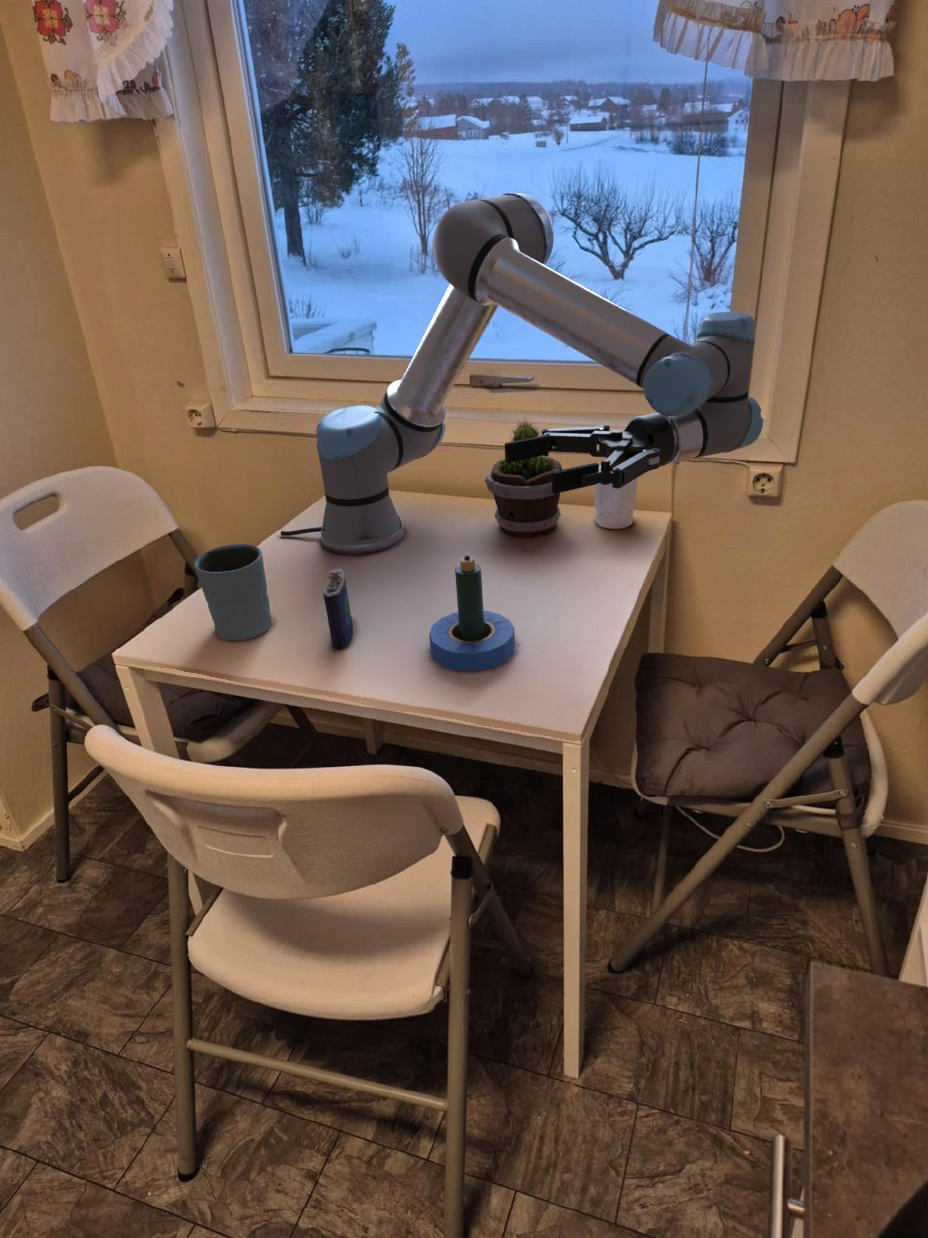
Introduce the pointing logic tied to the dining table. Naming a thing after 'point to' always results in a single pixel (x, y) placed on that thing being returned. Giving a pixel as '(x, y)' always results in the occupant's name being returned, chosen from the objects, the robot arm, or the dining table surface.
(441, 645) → the tape roll
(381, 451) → the robot arm
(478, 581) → the green cylinder
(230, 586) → the blue cup
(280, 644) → the dining table surface
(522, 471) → the flowerpot
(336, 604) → the flask
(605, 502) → the grey faceted cup
